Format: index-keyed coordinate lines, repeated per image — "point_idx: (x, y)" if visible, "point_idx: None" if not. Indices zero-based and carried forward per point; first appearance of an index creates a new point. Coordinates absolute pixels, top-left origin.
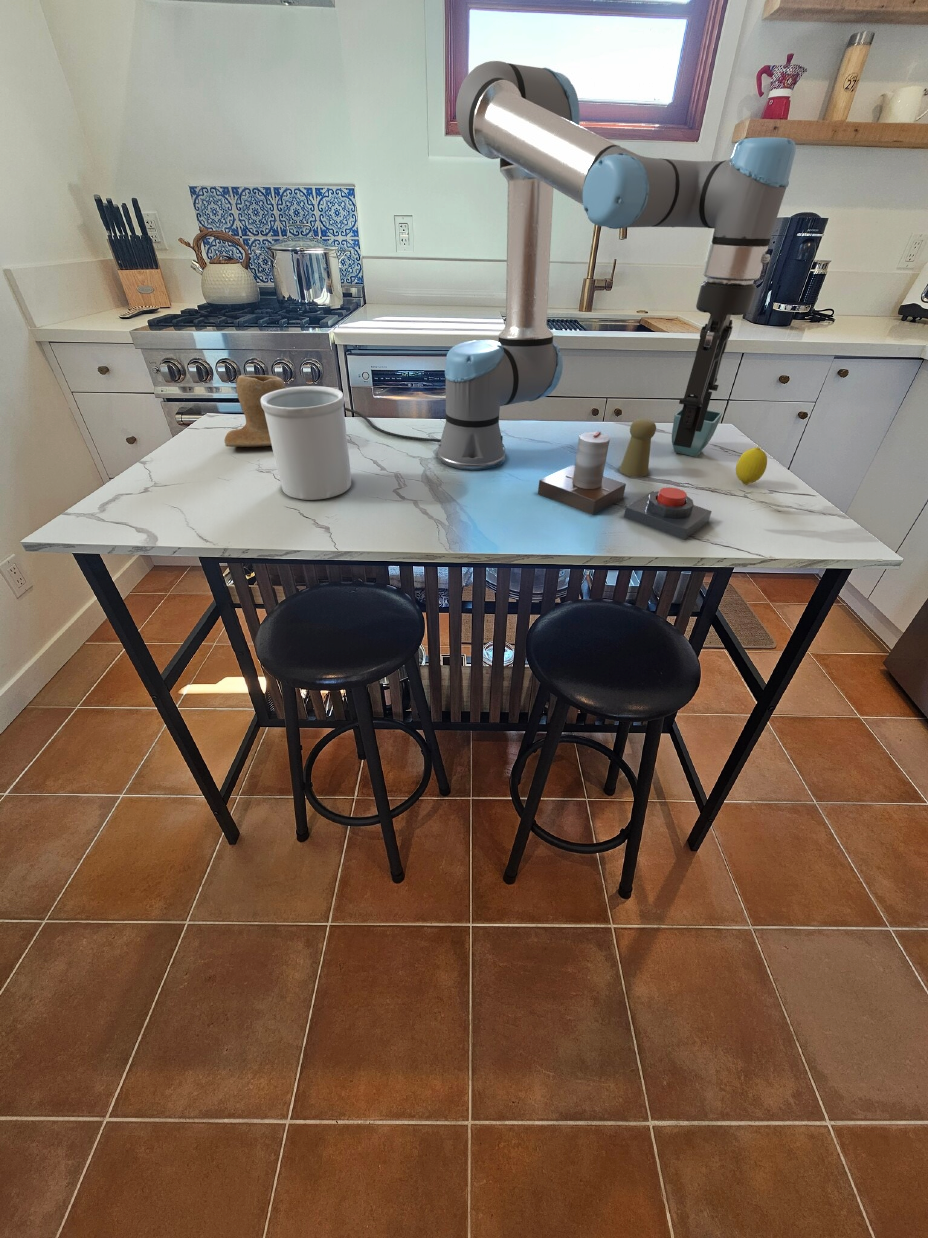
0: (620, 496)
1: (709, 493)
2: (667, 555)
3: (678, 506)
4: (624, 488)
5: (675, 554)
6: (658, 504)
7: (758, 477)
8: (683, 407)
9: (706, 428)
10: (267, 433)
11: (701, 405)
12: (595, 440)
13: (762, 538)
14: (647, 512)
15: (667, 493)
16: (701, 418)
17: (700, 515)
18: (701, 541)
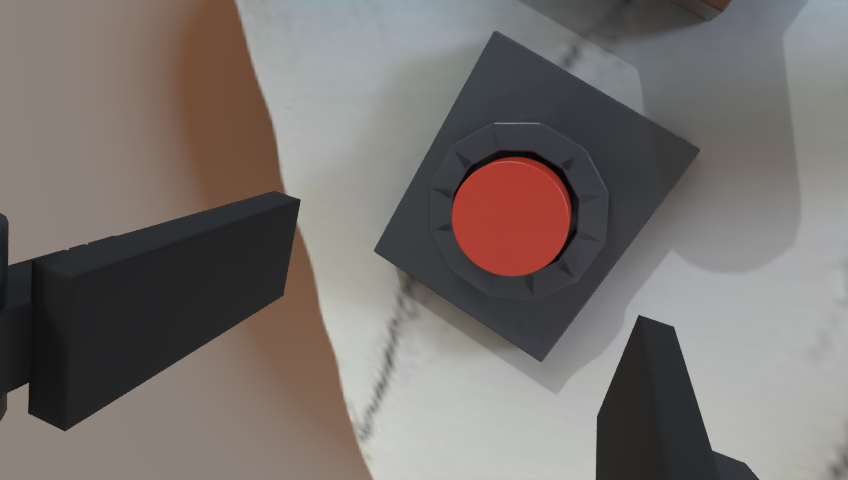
0: (683, 4)
1: (838, 409)
2: (286, 182)
3: None
4: (710, 11)
5: (299, 206)
6: (454, 158)
7: None
8: (66, 256)
9: None
10: None
11: (61, 421)
12: None
13: (469, 474)
14: (464, 120)
15: (494, 195)
16: (600, 457)
17: (490, 314)
18: (398, 294)
